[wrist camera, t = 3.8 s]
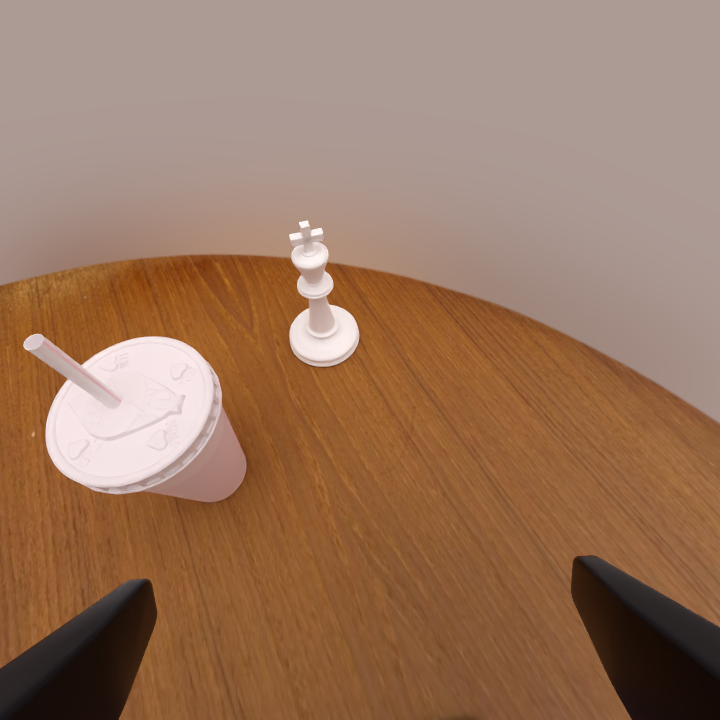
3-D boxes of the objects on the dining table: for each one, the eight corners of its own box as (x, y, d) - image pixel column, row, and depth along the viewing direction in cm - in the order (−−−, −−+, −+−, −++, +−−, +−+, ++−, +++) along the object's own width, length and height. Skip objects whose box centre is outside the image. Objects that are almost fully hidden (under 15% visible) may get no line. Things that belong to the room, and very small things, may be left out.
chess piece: (367, 357, 27) (365, 248, 19) (297, 374, 27) (262, 270, 18) (349, 302, 30) (340, 184, 21) (284, 318, 29) (248, 202, 21)
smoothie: (175, 419, 25) (-3, 261, 13) (275, 419, 25) (187, 259, 13) (147, 527, 22) (-124, 448, 10) (261, 528, 22) (126, 450, 10)
